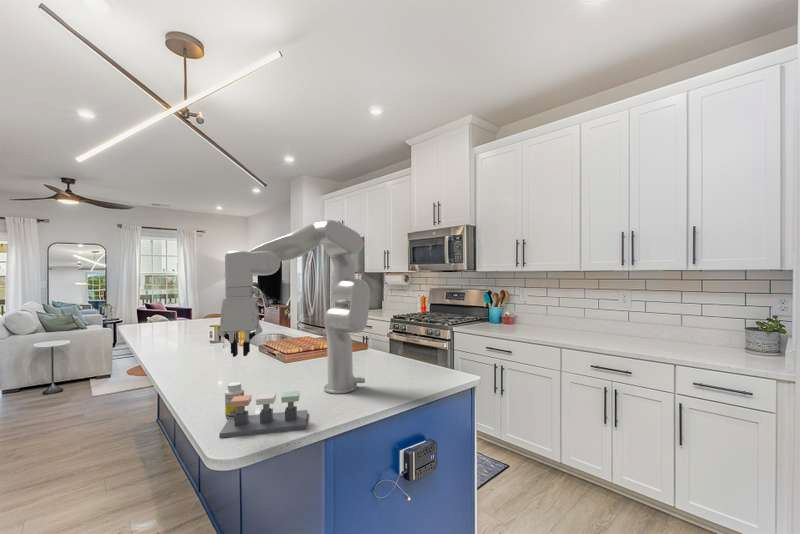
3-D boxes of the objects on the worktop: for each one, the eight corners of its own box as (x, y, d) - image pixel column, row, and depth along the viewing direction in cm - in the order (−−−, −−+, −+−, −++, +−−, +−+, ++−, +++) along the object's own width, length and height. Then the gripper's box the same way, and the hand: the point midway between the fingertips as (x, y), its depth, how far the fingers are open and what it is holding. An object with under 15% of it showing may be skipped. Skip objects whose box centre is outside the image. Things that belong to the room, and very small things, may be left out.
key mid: (275, 408, 113) (275, 392, 113) (273, 413, 109) (273, 397, 109) (259, 409, 112) (259, 394, 112) (256, 415, 108) (256, 399, 108)
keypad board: (307, 413, 119) (307, 400, 119) (305, 428, 107) (305, 414, 107) (230, 421, 114) (230, 407, 114) (219, 437, 102) (219, 422, 102)
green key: (299, 405, 115) (299, 390, 115) (298, 411, 110) (298, 395, 110) (283, 407, 114) (283, 392, 114) (281, 413, 109) (281, 397, 109)
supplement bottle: (239, 411, 122) (238, 380, 122) (247, 415, 118) (247, 383, 118) (222, 416, 118) (221, 384, 118) (230, 421, 114) (229, 387, 114)
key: (251, 410, 112) (251, 394, 112) (248, 416, 107) (248, 400, 107) (234, 411, 111) (234, 396, 111) (230, 417, 106) (230, 401, 106)
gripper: (269, 291, 115) (270, 351, 115) (213, 293, 112) (214, 354, 111) (266, 292, 107) (267, 356, 107) (206, 294, 104) (207, 360, 104)
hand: (240, 355), depth 109 cm, fingers closed
